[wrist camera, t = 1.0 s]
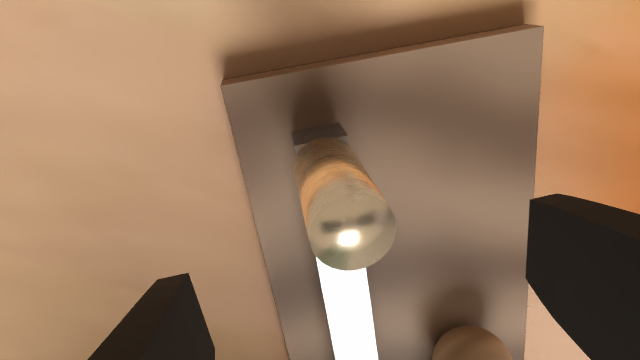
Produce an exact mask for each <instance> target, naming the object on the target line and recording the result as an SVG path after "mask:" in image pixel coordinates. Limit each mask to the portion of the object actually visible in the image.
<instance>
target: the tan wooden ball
mask: <svg viewBox="0 0 640 360" xmlns="http://www.w3.org/2000/svg"><path fill="white" fill-rule="evenodd" d="M432 360H512V357H511V355H510V353H509V351H508V349H507V348H506V346H505V345H504V343H503V342H502V341H501V340H500V339H499V338H498V337H497V336H495V335H494V334H493V333H491V332H490V331H488V330H486V329H483V328H481V327H477V326H471V325H464V326H458V327H455V328H453V329H451V330H449V331H447V332H446V333H445V334H443V335H442V336H441V337H440V339H439V340H438V342H437V343H436V345H435V348H434V351H433V354H432Z"/></svg>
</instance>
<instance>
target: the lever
mask: <svg viewBox="0 0 640 360" xmlns="http://www.w3.org/2000/svg"><path fill="white" fill-rule="evenodd" d="M291 135H292V140H293V145H294V151H295V156H296V159H295V162H294V176H295V180H296V185H297V189H298V193H299V198H300V202H301V207H302V211H303V216H304V220H305V224H306V229H307V233H308V238H309V242H310V246H311V249H312V251H313V253H314V254H315V259H316V265H317V270H318V275H319V280H320V285H321V290H322V296H323V301H324V306H325V311H326V316H327V322H328V327H329V332H330V337H331V342H332V347H333V353H334V358H335V360H378V355H377V347H376V340H375V333H374V325H373V318H372V310H371V303H370V296H369V288H368V281H367V273H366V267H368V266H371V265H372V264H374V263H376V262H377V261H379V260H380V259H381V258H382V257H383V256H384V255H385V254H386V253H387V252H388V251H389V249H390V248H391V246H392V244H393V242H394V240H395V236H396V230H397V224H396V219H395V216H394V214H393V212H392V210H391V208H390V207H389V205H388V204H387V202H386V201H385V199H384V197H383V196H382V194H381V193H380V191H379V190H378V188H377V187H376V185H375V184H374V182H373V180H372V179H371V177H370V176H369V174H368V173H367V171H366V170H365V168H364V166H363V165H362V163H361V162H360V160H359V159H358V157H357V156H356V154H355V153H354V151H353V150H352V148H351V147H350V146H349V140H348V135H347V133H346V132H345V130H344V129H343V127H342V126H341V125H340V123H334V124H329V125H323V126H318V127H313V128H308V129H303V130H298V131H292V132H291Z"/></svg>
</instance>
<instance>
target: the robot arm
mask: <svg viewBox="0 0 640 360" xmlns="http://www.w3.org/2000/svg"><path fill="white" fill-rule="evenodd" d="M525 278H526V280H527V281H528V283H529V284H530V286H531V287H532V289H533V290H534V292H535V293H536V295H537V296H538V297H539V299H540V300H541V302H542V303H543V305H544V306H545V307H546V309H547V310H548V311H549V313H550V314H551V316H552V317H553V318H554V319H555V320H556V322H557V323H558V324H559V325H560V326H561V327H562V328H563V330H564V331H565V332H566V333H567V334H568V335H569V336H570V337H571V338H572V339H573V341H574V342H575V343H576V344H577V345H578V346H579V347H580V348H581V349H582V351H583V352H584V353H585V354H586V355H587V356H588V357H589V358H590V359H591V360H640V214H636V213H633V212H629V211H626V210H622V209H619V208H615V207H611V206H608V205H604V204H600V203H597V202H593V201H589V200H585V199H581V198H577V197H572V196H567V195H562V194H553V195H548V196H544V197H539V198H534V199H530V204H529V222H528V240H527V257H526V275H525ZM88 360H215V348H214V345H213V342H212V339H211V336H210V334H209V331H208V328H207V325H206V322H205V319H204V316H203V314H202V311H201V308H200V305H199V302H198V299H197V296H196V293H195V291H194V288H193V285H192V282H191V279H190V276H189V273H186V274H181V275H176V276H172V277H167V278H162V279H158V280H157V281H156V282H155V283H154V284H153V285H152V286H151V287H150V288H149V289H148V290H147V292H146V293H145V294H144V295H143V296H142V297H141V298H140V300H139V301H138V302H137V303H136V304H135V305H134V307H133V308H132V309H131V310H130V311H129V313H128V314H127V315H126V316H125V317H124V318H123V320H122V321H121V322H120V323H119V324H118V325H117V327H116V328H115V329H114V330H113V331H112V332H111V333H110V335H109V336H108V337H107V338H106V339H105V340H104V341H103V343H102V344H101V345H100V346H99V347H98V348H97V349H96V351H95V352H94V353H93V354H92V355H91V356H90V357H89V359H88Z"/></svg>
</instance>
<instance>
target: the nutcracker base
mask: <svg viewBox="0 0 640 360" xmlns="http://www.w3.org/2000/svg"><path fill="white" fill-rule="evenodd" d="M543 33H544V26H537V25H527V24H524V25H518V26H513V27H507V28H502V29H497V30H491V31H486V32H480V33H475V34H469V35H464V36H459V37H453V38H448V39H442V40H437V41H431V42H426V43H420V44H415V45H410V46H404V47H399V48H393V49H388V50H382V51H377V52H372V53H366V54H361V55H355V56H350V57H344V58H339V59H333V60H328V61H323V62H317V63H312V64H306V65H301V66H295V67H290V68H285V69H279V70H274V71H268V72H263V73H257V74H252V75H247V76H241V77H236V78H230V79H225V80H223V81H222V83H221V90H222V94H223V98H224V102H225V105H226V109H227V113H228V117H229V121H230V125H231V129H232V133H233V137H234V141H235V145H236V149H237V153H238V157H239V161H240V165H241V169H242V173H243V177H244V180H245V184H246V188H247V192H248V196H249V200H250V204H251V208H252V212H253V216H254V220H255V224H256V228H257V232H258V236H259V240H260V244H261V248H262V251H263V255H264V259H265V263H266V267H267V271H268V275H269V279H270V283H271V287H272V291H273V295H274V299H275V303H276V307H277V311H278V315H279V319H280V323H281V326H282V330H283V334H284V338H285V342H286V346H287V350H288V354H289V358H290V360H335V358H334V353H333V347H332V342H331V337H330V332H329V327H328V322H327V316H326V311H325V306H324V301H323V296H322V290H321V285H320V280H319V275H318V270H317V265H316V259H315V254H314V253H313V251H312V249H311V246H310V242H309V238H308V233H307V229H306V224H305V220H304V216H303V211H302V207H301V202H300V198H299V193H298V189H297V185H296V180H295V176H294V162H295V159H296V156H295V151H294V145H293V140H292V135H291V132H292V131H298V130H303V129H308V128H313V127H318V126H323V125H329V124H334V123H340V125H341V126H342V127H343V129H344V130H345V132H346V133H347V135H348V140H349V146H350V147H351V148H352V150H353V151H354V153H355V154H356V156H357V157H358V159H359V160H360V162H361V163H362V165H363V166H364V168H365V170H366V171H367V173H368V174H369V176H370V177H371V179H372V180H373V182H374V184H375V185H376V187H377V188H378V190H379V191H380V193H381V194H382V196H383V197H384V199H385V201H386V202H387V204H388V205H389V207H390V208H391V210H392V212H393V214H394V216H395V219H396V224H397V230H396V236H395V240H394V242H393V244H392V246H391V248H390V249H389V251H388V252H387V253H386V254H385V255H384V256H383V257H382V258H381V259H380V260H379V261H377V262H376V263H374V264H372V265H371V266H368V267H366V273H367V281H368V288H369V296H370V303H371V310H372V318H373V325H374V333H375V340H376V347H377V355H378V360H432V354H433V351H434V348H435V345H436V343H437V342H438V340H439V339H440V337H441V336H442V335H443V334H445V333H446V332H447V331H449V330H451V329H453V328H455V327H458V326H464V325H471V326H477V327H481V328H483V329H486V330H488V331H490V332H491V333H493V334H494V335H495V336H497V337H498V338H499V339H500V340H501V341H502V342H503V343H504V345H505V346H506V348H507V349H508V351H509V353H510V355H511V357H512V360H524V348H525V332H526V315H527V299H528V281H527V280H526V278H525V275H526V257H527V240H528V222H529V204H530V199H534V182H535V166H536V149H537V133H538V116H539V99H540V83H541V66H542V50H543Z"/></svg>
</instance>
